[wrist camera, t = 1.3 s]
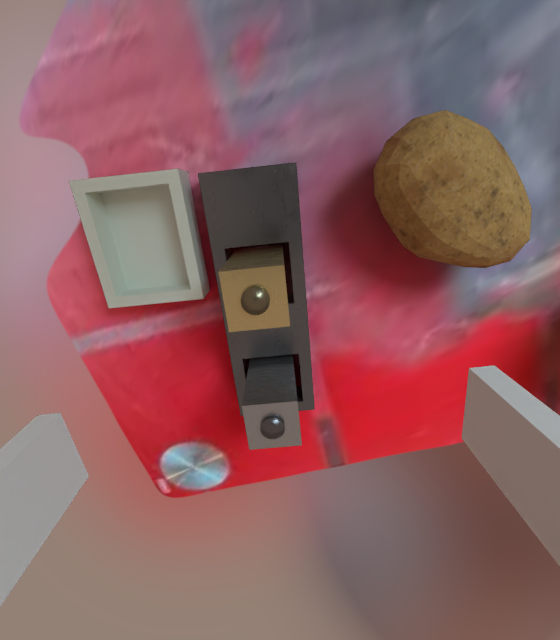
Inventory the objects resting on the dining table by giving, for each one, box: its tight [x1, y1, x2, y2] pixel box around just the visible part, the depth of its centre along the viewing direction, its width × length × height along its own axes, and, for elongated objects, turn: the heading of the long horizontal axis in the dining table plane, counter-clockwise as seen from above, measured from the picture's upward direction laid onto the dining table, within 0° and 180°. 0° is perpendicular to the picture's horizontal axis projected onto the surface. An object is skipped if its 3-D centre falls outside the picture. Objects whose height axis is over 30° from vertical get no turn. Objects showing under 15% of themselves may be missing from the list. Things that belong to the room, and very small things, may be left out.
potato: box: [373, 110, 532, 268], centre depth 26 cm, size 10×14×8 cm
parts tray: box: [69, 169, 210, 308], centre depth 29 cm, size 11×9×3 cm
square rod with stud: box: [242, 354, 302, 450], centre depth 31 cm, size 4×4×10 cm
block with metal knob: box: [219, 245, 290, 332], centre depth 27 cm, size 4×4×10 cm
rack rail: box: [198, 163, 315, 416], centre depth 31 cm, size 24×8×3 cm, turn 6°
